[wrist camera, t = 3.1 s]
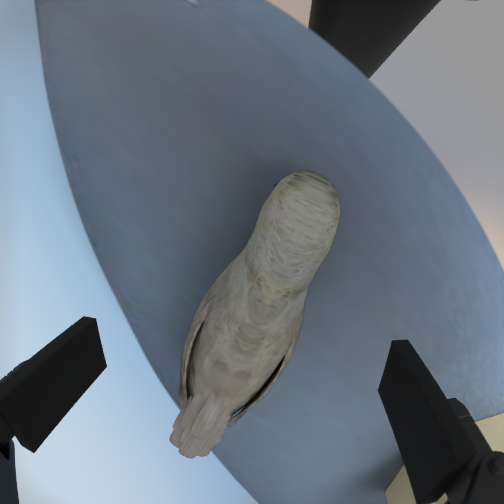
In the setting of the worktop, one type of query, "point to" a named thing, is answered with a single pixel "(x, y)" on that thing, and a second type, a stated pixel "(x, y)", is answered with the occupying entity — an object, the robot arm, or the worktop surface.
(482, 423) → the bin
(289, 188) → the decorative bird
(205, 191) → the worktop surface
